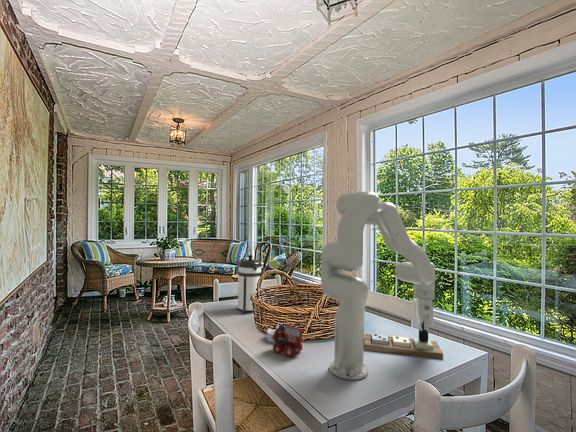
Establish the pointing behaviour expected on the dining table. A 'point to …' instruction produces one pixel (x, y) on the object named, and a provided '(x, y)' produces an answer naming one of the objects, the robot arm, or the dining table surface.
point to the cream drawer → (400, 341)
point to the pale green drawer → (422, 344)
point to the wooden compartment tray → (403, 348)
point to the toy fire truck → (287, 340)
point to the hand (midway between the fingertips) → (423, 340)
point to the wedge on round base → (271, 333)
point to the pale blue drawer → (380, 339)
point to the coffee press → (247, 282)
